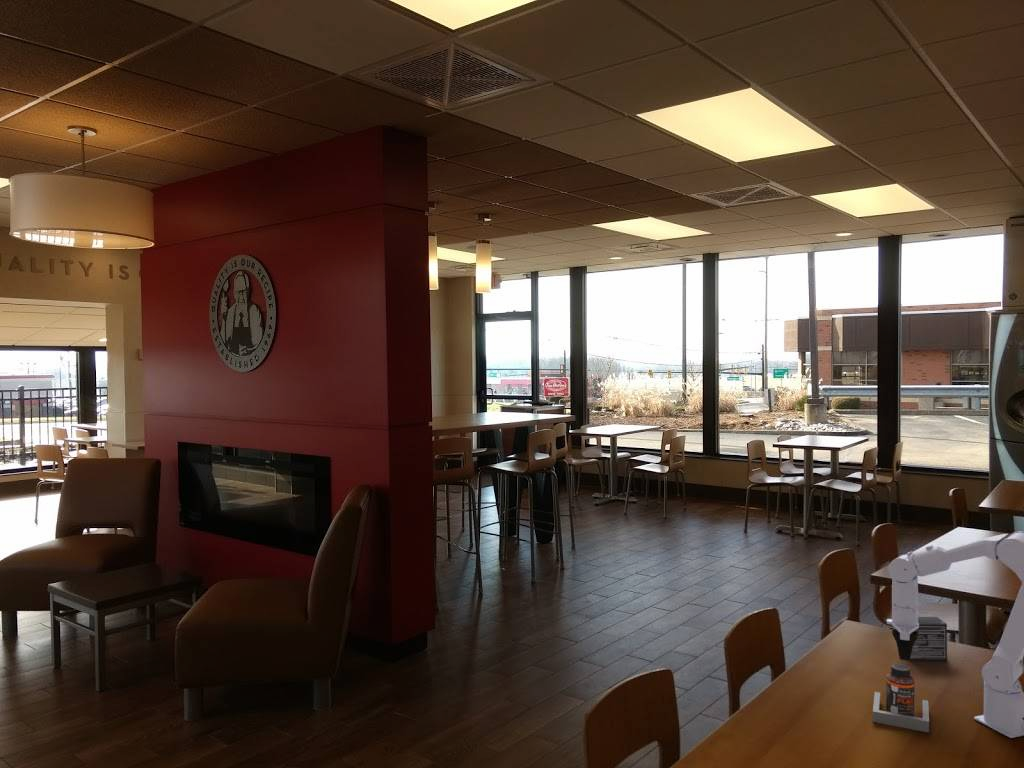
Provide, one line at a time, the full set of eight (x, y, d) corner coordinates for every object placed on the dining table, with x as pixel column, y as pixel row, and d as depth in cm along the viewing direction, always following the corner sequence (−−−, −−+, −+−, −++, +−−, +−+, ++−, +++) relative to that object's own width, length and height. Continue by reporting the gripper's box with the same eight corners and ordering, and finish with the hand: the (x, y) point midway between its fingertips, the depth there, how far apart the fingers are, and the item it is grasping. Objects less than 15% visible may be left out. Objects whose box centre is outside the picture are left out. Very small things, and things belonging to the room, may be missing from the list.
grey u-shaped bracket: (874, 701, 186) (874, 691, 186) (928, 711, 181) (928, 700, 181) (872, 721, 176) (872, 711, 176) (928, 732, 171) (929, 721, 171)
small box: (937, 652, 215) (937, 615, 215) (948, 662, 209) (948, 624, 208) (898, 651, 216) (898, 615, 216) (907, 661, 210) (907, 623, 209)
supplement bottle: (898, 721, 176) (898, 673, 176) (880, 709, 182) (880, 663, 182) (920, 718, 178) (920, 670, 177) (901, 706, 183) (902, 660, 183)
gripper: (887, 593, 196) (887, 646, 197) (886, 611, 183) (885, 667, 184) (918, 597, 193) (918, 650, 193) (919, 615, 180) (919, 672, 180)
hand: (904, 659), depth 188 cm, fingers closed
